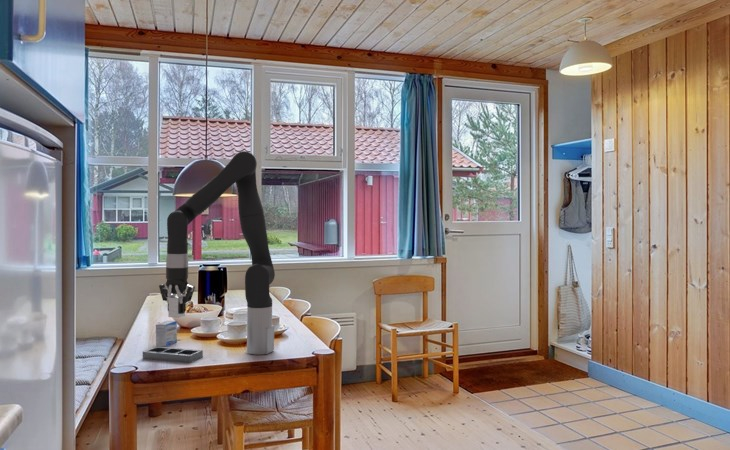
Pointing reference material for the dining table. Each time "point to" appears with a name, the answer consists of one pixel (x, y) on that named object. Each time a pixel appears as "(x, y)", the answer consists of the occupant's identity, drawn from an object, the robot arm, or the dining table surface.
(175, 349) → the grey compartment tray
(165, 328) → the medicine box
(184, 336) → the dining table surface
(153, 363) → the dining table surface
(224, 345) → the dining table surface
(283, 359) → the dining table surface
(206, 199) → the robot arm
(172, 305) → the light grey block
